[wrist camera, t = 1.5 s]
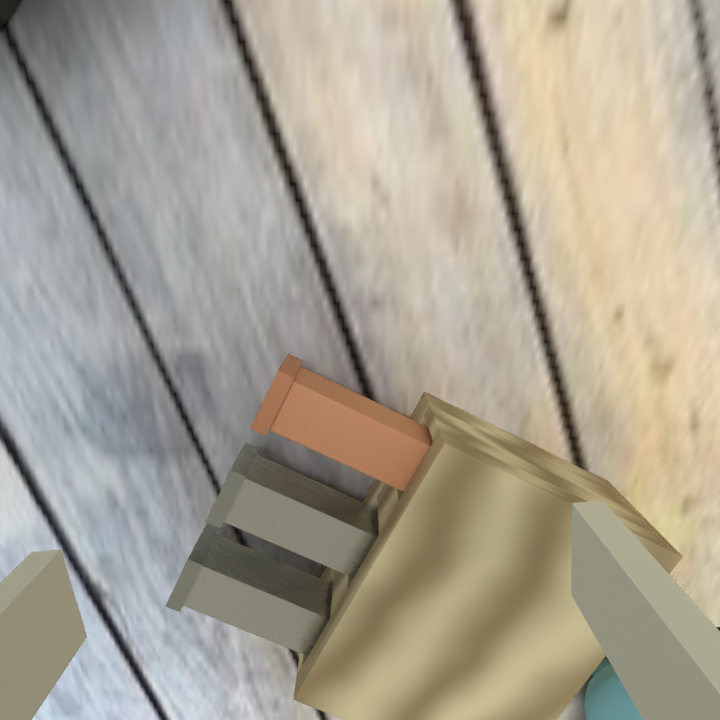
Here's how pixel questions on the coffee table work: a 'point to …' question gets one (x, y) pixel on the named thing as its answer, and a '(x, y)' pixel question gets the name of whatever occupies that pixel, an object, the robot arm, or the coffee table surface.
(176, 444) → the coffee table surface
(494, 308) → the coffee table surface
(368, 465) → the terracotta plug
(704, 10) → the coffee table surface
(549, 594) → the socket block
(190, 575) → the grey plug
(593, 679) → the teapot
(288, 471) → the grey plug middle
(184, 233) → the coffee table surface
